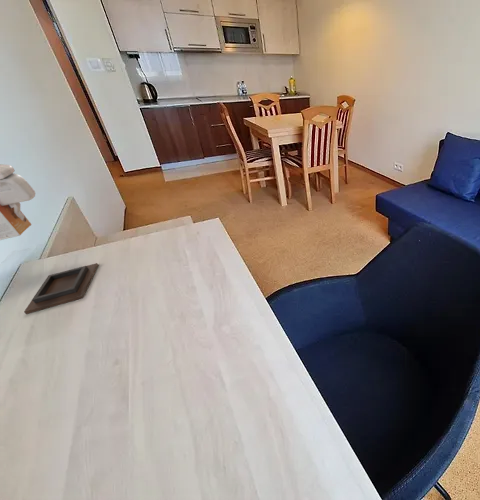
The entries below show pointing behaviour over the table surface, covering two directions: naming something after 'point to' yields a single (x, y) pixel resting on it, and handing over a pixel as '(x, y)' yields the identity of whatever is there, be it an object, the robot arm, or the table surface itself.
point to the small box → (11, 223)
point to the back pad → (62, 288)
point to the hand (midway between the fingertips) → (5, 220)
